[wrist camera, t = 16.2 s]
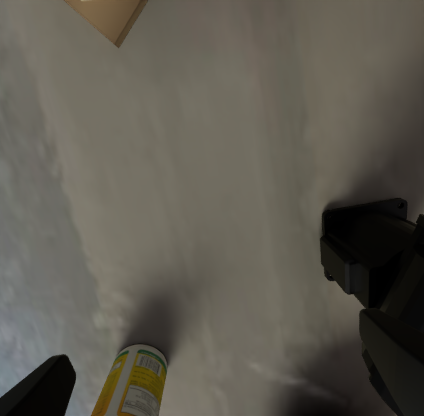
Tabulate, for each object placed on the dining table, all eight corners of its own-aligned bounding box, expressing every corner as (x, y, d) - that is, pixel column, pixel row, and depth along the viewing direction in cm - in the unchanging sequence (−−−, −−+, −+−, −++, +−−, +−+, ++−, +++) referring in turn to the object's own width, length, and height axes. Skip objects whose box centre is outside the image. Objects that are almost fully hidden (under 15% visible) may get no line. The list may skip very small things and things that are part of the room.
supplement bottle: (163, 340, 24) (134, 469, 15) (171, 379, 26) (150, 518, 16) (109, 344, 24) (48, 476, 15) (121, 383, 26) (72, 523, 17)
